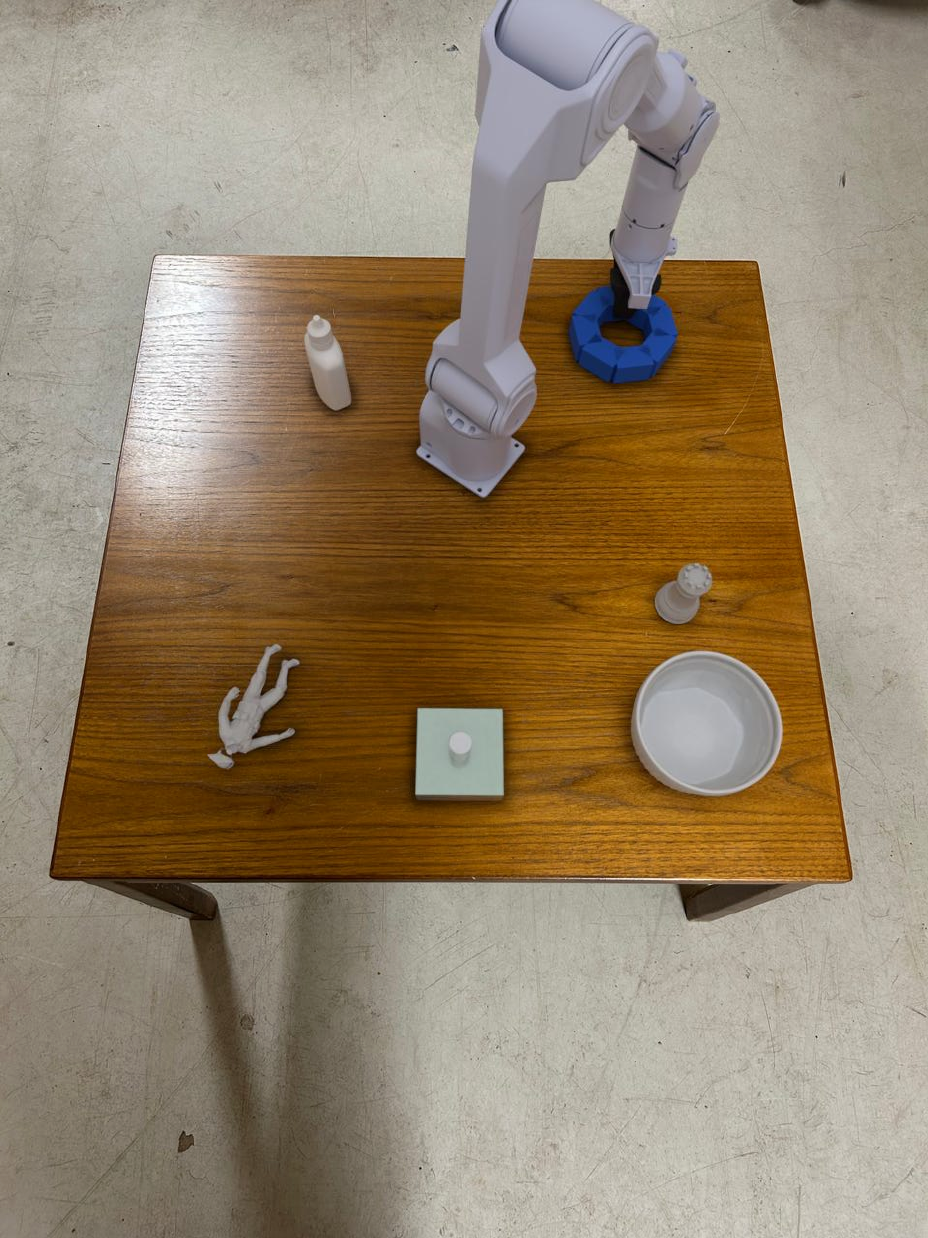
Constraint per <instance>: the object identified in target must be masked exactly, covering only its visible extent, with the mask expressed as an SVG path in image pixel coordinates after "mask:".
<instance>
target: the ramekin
mask: <svg viewBox="0 0 928 1238" xmlns="http://www.w3.org/2000/svg"><path fill="white" fill-rule="evenodd" d="M631 715H632V716H631V719H630V724H631V725H630V733H631V735H630V737H631V740H632V746H633V748H634V750H635V755H636V756H638V759H639V761H640V763H642V765H643V768H644V769H645V770H647V771H648V772H649V774H650V775H651V776H652V777H654V778H655V779H656V781H658V782H661V783H662V784H663V785H664V786H667V787H668V788H670V789H672V790H676V791H677V792H680V793H686V794H688V795H699V796H705V797H721V796H728V795H732V794H736V793H739V792H742V791H743V790H746V789H747V788H749V787H751V786H753V785H754V784H756V783H758V782H759V781H761V779H762V778H764V777H765V776H766V774H768V772H769V771H770V770H771V768H773V766H774V764H775V762H776V760H777V758H778V757H779V753H780V750H781V747H782V743H783V734H784V733H783V732H784V731H783V730H784V729H783V720H782V714H781V710H780V707H779V705H778V701H777V700H776V698H775V695H774V694H773V692H772V690H771V688H770V687H769V686H768V685H767V683H766V682H765V680H764V679H763V678H762V677H761V676H760V675H759V674H758V673H757V672H756V671H755V670H754V669H752V668H751V667H750V666H749V665H747V664H745V662H742V661H741V660H739V659H737V658H735V657H733V656H730V655H728V654H726V653H725V654H724V653H722V652H719V651H718V652H717V651H713V650H712V651H711V650H692V651H691V650H690V651H685V652H682V653H678V654H676V655H674V656H671V657H670V658H668V659H666V660H665V661H663V662H661V663H660V664H659V665H657V666H656V667H655V668H654V669H653V670H652V671H651V672H650V673H649V674H648V675H647V676H646V677H645V679H644V680H643V682H641V685H640V688H639V689H638V691H637V694H636V697H635V700H634V704H633V710H632V713H631Z"/></svg>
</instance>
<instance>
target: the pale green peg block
mask: <svg viewBox="0 0 928 1238" xmlns="http://www.w3.org/2000/svg"><path fill="white" fill-rule="evenodd" d="M415 744H416V748H415V783H414V784H415V785H414V795H415V799H416V801H466V802H467V801H472V802H473V801H476V802H477V801H478V802H479V801H482V802H484V801H485V802H487V801H488V802H500V801H502V800H503V798H504V797H505V774H504V773H505V771H504V770H505V765H504V764H505V763H504V758H505V757H504V756H505V755H504V709H503V708H474V707H473V708H466V707H465V708H464V707H463V708H462V707H461V708H460V707H417V709H416V743H415Z"/></svg>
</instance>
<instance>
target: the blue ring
mask: <svg viewBox="0 0 928 1238" xmlns="http://www.w3.org/2000/svg"><path fill="white" fill-rule="evenodd" d="M613 303H614V293H613V291H612V290H611V285H606V286H597V287H596V289H595V290H594V289H591V291H589V293H588V294H587V295H586V297H585V298H584V299H583V300H582V301H581V302H580V304H578V306H577V307H576V308H575V309H574V310H573V311H572V316H571V320H570V324H569V328H568V335H569V340H570V344H571V349H572V353H573V357H574V360H575V362H578V366H580V367H581V368H583V369H585V371H586V370H587V371H588V372H589V373H591V374H593V375H595V376H596V377H598V378H600V379H601V380H603V381H605V382H606V383H609V382H610V381H612V384H613V385H615V384H623V383H624V384H625V383H633V382H641V381H648V380H649V378H654V376H655V375H656V374H657V372H659V370H660V369H661V367H662V366H663V365H664V363H665V362H666V361H667V360H668V359H669V357H670V356H671V355H672V352H673V349H674V347H675V344H676V342H677V340H678V338H677V337H678V335H679V332H678V330H677V326H676V323H675V319H674V316H673V313H672V310H671V307H670V305H666V304H667V301H665V300H664V299H662V298H660V297H658V296H656V294H654V295H652V296H651V298H650V301H649V304H648V307H647V309H638V310H637V311H636V313H635V314H634V315H633V317H632V318H631V319H616V318H614V315H613ZM617 321H626V322H628V323H629V324H631V325H633V326H635V327H636V328H638V329H639V330H641V331H642V334H643V338H644V341H643V343H642V344H640V345H639V344H638V345H630V346H621V347H620V346H618V345H617V344H615V343H614V342H611V341H610V340H608V339H606V338H604V337H603V336H602V334H601V329H600V328H601V326H603V324H604V323H608V322H617Z"/></svg>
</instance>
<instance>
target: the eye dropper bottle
mask: <svg viewBox="0 0 928 1238" xmlns="http://www.w3.org/2000/svg"><path fill="white" fill-rule="evenodd" d="M304 348H305V351H306V356H307V360H308V364H309V367H310V371H311V375H312V379H313V382H314V387H315V389H316V392H317V394H318V396H319V398H320V400H321V401H322V402H323V403H324V404H325V405H326V406H327V407H328V408H330V409H331V410H333V411H334V412H335V411H340V410H343V409H344V408H346V407H349V406H350V405H351V403H352V393H351V389H350V388H351V387H350V383H349V378H348V373H347V367H346V362H345V359H344V354H343V350H342V348H341V345H340V342H339V341H338V340H337V339H336V337H335V336H334V335H333V331H332V326H331V323H330V322H329V321H328V320H326V319H324V318H321V317H320V315H318V314H316V315H314V316H313V317H312V320H310V321H309V322H308V323H307V325H306V333H305V335H304Z"/></svg>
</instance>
